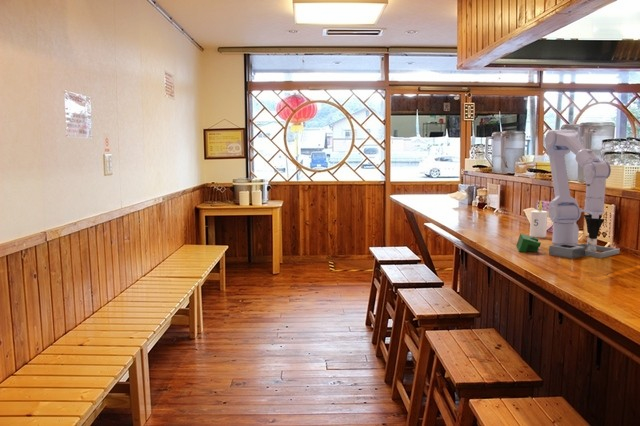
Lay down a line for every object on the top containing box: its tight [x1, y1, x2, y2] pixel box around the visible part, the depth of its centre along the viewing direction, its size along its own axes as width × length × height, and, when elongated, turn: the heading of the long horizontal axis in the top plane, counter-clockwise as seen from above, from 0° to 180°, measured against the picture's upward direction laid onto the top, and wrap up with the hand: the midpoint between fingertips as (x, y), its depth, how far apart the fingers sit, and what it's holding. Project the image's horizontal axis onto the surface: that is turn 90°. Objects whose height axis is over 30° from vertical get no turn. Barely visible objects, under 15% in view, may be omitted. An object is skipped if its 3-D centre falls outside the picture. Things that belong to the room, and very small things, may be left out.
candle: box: [529, 200, 549, 238], centre depth 207 cm, size 6×6×15 cm
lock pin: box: [585, 232, 598, 252], centre depth 170 cm, size 3×3×7 cm
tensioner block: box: [548, 243, 586, 260], centre depth 166 cm, size 8×8×4 cm
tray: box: [577, 242, 620, 259], centre depth 171 cm, size 13×13×2 cm
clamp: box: [515, 233, 542, 253], centre depth 176 cm, size 12×6×9 cm, turn 157°
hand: (592, 236), depth 170 cm, fingers open, 7 cm apart
